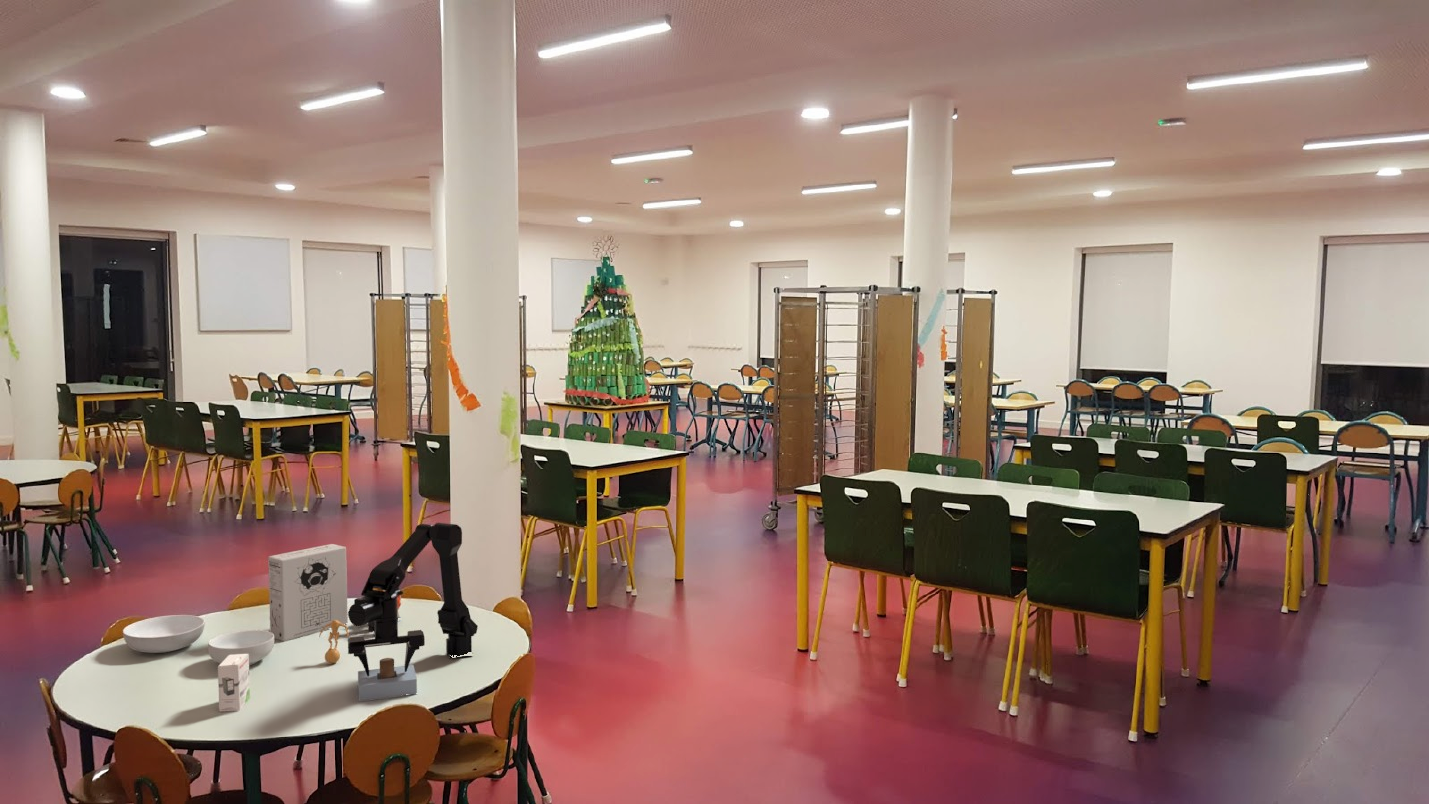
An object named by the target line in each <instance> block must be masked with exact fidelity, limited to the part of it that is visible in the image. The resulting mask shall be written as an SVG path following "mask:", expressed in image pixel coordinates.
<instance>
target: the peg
mask: <svg viewBox="0 0 1429 804" xmlns="http://www.w3.org/2000/svg"><path fill="white" fill-rule="evenodd" d="M394 667H395V659H394V658H393V657H385V658H382V659H379V669H380V679H386V678H394Z"/></svg>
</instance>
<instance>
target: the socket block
mask: <svg viewBox="0 0 1429 804" xmlns="http://www.w3.org/2000/svg"><path fill="white" fill-rule="evenodd" d="M414 665H415V664H411V665H410V664H409V666H408V669H407V672H405V666H404V665H401V666H394V678H386V679H380V668H375V669H369V676H367V674H366V671H365V670H359V671H357V686H358V687H357V689H358V699H359V700H358V701H359V702H365V701H366V702H367V701H373V700H382V699H389V698H390V699H391V698H396V696H398V697H402V696H401V695H406V694H414V695H417V694H416V693H418V687H417V686H418V685H417V684H418V683H417V682H418V681H417V675H416V670H415V666H414ZM406 696H407V695H406Z"/></svg>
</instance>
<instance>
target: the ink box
mask: <svg viewBox="0 0 1429 804" xmlns="http://www.w3.org/2000/svg"><path fill="white" fill-rule="evenodd" d="M217 679H218V681H217V683H218V709H219V712H220V713H221V712H237V711H238V712H239V711H241V709H242V708H243V707H244V706H245V705H246V703H248V700H249V699H250V697H251V695H250V692H251V691H250V666H249V654H235V655H229V656H228V657H227V658H226V659H225V660H224V661H223V662H222V663H221V664H220V663H219V665H218V666H217Z"/></svg>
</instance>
